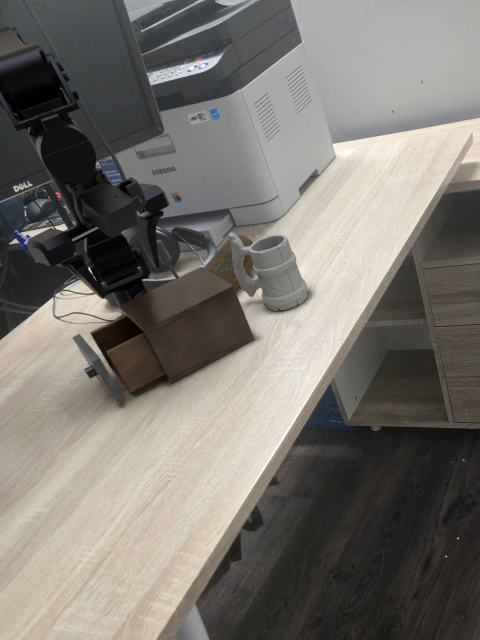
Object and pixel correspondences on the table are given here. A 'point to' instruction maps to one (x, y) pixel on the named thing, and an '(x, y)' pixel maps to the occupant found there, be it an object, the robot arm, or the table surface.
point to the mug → (270, 271)
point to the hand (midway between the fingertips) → (130, 282)
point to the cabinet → (190, 322)
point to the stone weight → (229, 262)
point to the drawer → (121, 356)
